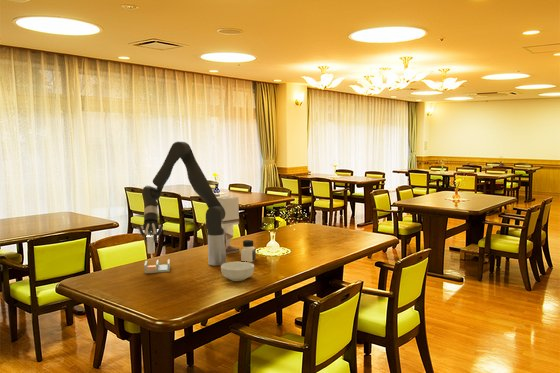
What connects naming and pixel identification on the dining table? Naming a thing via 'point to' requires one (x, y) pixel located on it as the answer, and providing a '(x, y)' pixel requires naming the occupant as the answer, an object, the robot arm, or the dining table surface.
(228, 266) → the cereal bowl
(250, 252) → the medicine bottle
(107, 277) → the dining table surface
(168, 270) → the slot rack
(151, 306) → the dining table surface
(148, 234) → the panel
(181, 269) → the dining table surface
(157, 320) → the dining table surface
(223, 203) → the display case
